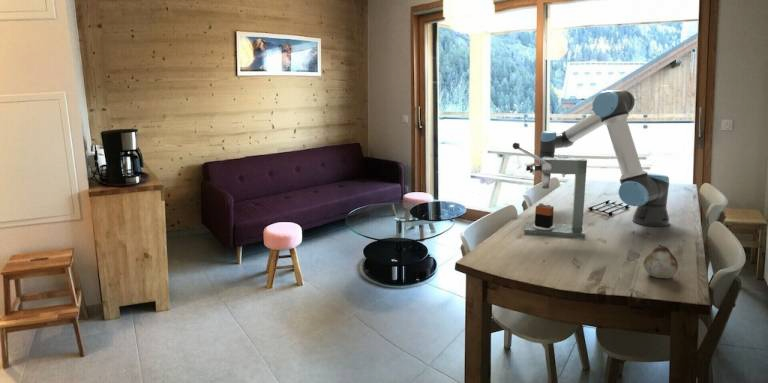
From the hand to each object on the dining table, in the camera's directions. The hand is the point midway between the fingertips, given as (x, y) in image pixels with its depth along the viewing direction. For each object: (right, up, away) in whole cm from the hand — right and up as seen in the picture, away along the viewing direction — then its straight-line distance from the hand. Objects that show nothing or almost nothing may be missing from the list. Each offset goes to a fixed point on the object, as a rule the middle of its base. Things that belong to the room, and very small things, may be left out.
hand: (548, 173), depth 229 cm
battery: (-6, -24, -10) cm, 27 cm away
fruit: (+17, -38, -62) cm, 75 cm away
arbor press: (-4, -27, -9) cm, 28 cm away
